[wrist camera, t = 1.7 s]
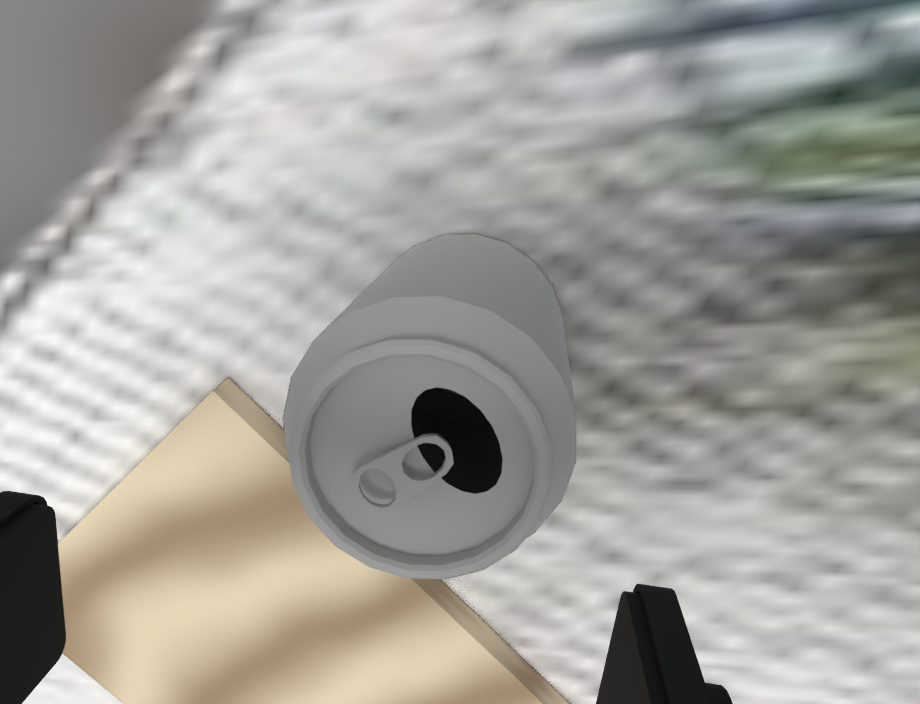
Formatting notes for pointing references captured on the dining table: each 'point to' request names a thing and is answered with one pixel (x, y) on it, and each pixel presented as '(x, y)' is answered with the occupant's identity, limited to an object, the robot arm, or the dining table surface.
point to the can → (436, 412)
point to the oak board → (259, 590)
